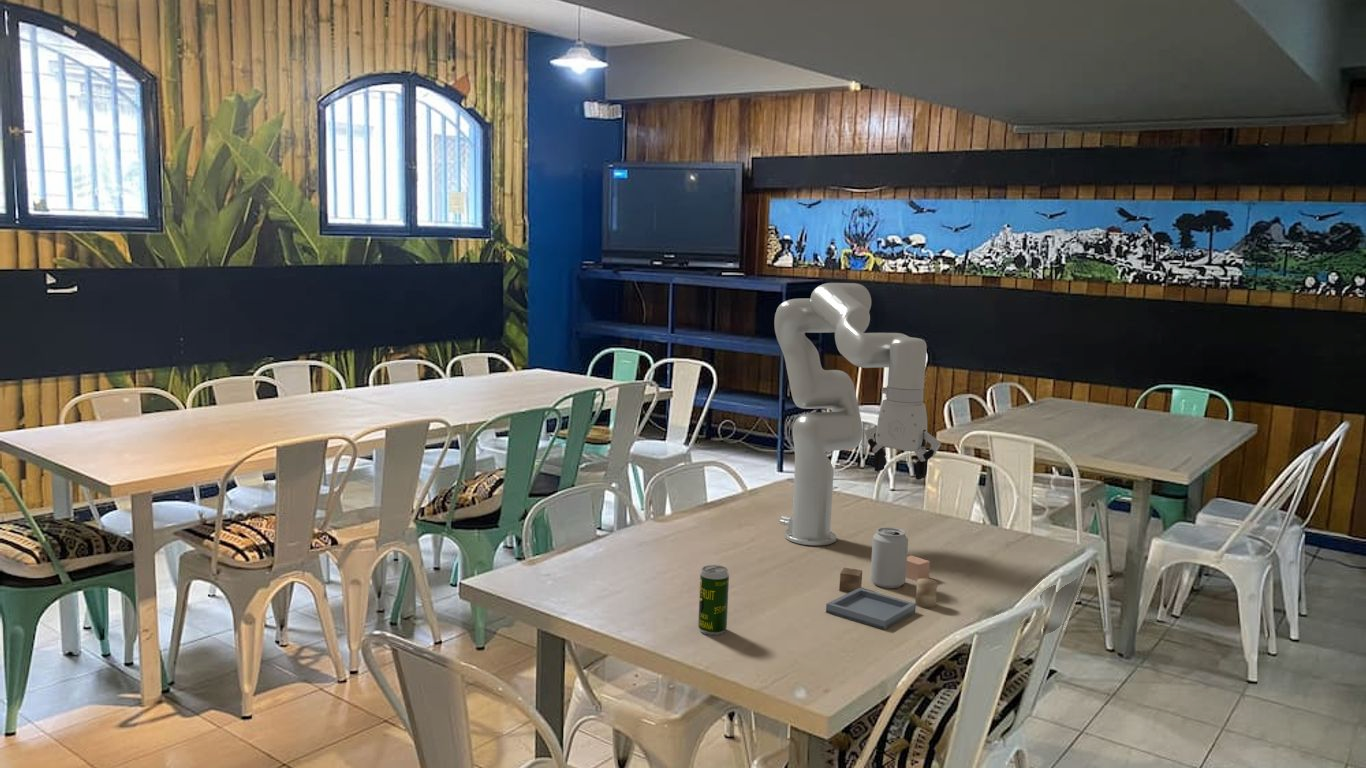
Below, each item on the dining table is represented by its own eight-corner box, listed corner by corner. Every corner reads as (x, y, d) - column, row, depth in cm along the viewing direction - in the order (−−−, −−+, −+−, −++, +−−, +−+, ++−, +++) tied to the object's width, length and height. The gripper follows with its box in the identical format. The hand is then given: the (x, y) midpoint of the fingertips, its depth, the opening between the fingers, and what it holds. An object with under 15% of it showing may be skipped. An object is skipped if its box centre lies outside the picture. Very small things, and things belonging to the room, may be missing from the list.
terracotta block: (899, 575, 230) (900, 558, 229) (910, 572, 233) (911, 555, 232) (917, 582, 226) (918, 564, 226) (928, 578, 229) (929, 561, 228)
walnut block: (839, 591, 219) (840, 573, 218) (842, 585, 222) (843, 567, 222) (857, 594, 217) (859, 575, 217) (861, 588, 221) (862, 570, 220)
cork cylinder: (912, 604, 212) (913, 581, 211) (921, 599, 215) (922, 576, 214) (929, 609, 209) (931, 586, 209) (938, 604, 212) (940, 581, 212)
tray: (825, 612, 206) (826, 603, 205) (858, 596, 216) (859, 587, 215) (883, 629, 198) (884, 620, 197) (915, 612, 208) (915, 603, 207)
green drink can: (710, 622, 198) (712, 562, 196) (732, 630, 195) (735, 569, 193) (692, 630, 194) (694, 569, 192) (714, 638, 191) (717, 576, 189)
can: (905, 591, 220) (908, 536, 218) (869, 587, 221) (873, 533, 219) (904, 579, 227) (908, 527, 225) (870, 576, 229) (873, 524, 227)
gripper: (860, 392, 221) (855, 470, 223) (935, 403, 210) (928, 484, 212) (877, 388, 226) (872, 464, 229) (950, 399, 216) (944, 478, 218)
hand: (899, 474), depth 221 cm, fingers open, 9 cm apart
